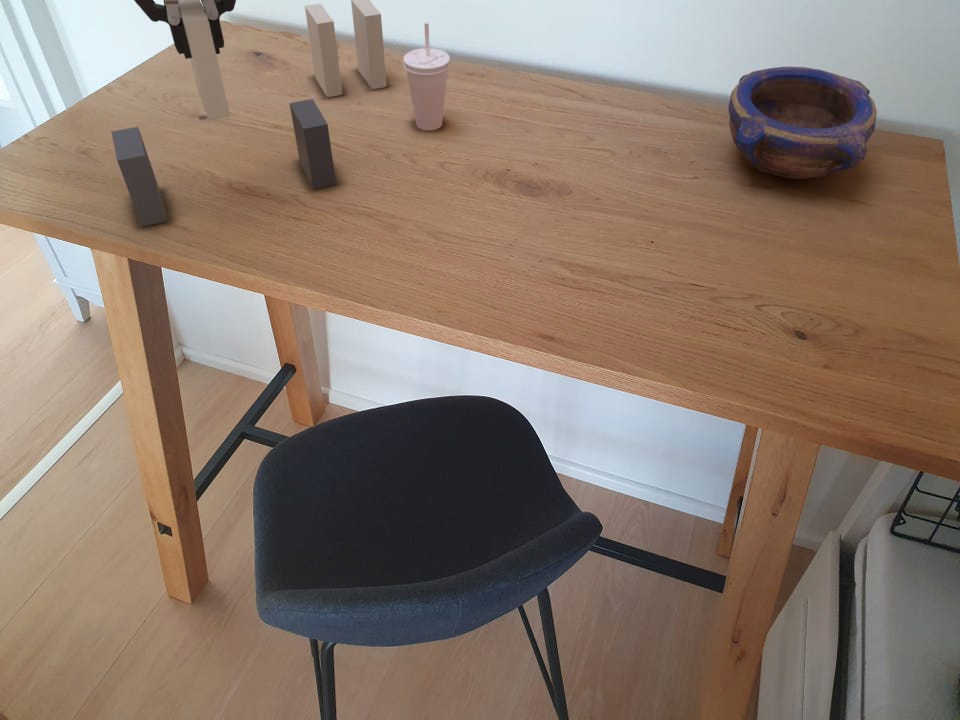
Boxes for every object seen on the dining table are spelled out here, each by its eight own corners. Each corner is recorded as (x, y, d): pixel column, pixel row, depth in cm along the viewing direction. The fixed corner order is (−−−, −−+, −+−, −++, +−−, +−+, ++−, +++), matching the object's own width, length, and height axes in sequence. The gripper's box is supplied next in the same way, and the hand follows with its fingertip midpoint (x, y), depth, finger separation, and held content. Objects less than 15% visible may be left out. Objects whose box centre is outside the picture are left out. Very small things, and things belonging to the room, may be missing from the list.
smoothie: (456, 116, 111) (455, 18, 101) (444, 137, 107) (442, 37, 97) (414, 111, 112) (408, 13, 102) (401, 132, 108) (394, 32, 98)
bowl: (706, 184, 99) (724, 113, 92) (725, 121, 111) (742, 53, 104) (851, 213, 95) (882, 140, 88) (855, 144, 107) (882, 75, 100)
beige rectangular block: (208, 120, 86) (183, 20, 78) (198, 93, 91) (174, -4, 83) (230, 116, 87) (207, 17, 79) (219, 89, 91) (196, -7, 84)
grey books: (141, 227, 92) (117, 160, 85) (135, 196, 96) (111, 131, 90) (336, 184, 98) (327, 120, 92) (321, 158, 103) (312, 94, 96)
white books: (327, 97, 115) (317, 23, 107) (315, 78, 119) (304, 5, 112) (386, 86, 118) (381, 13, 110) (372, 68, 122) (366, -4, 114)
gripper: (225, -143, 77) (257, 31, 89) (76, -132, 73) (132, 49, 85) (240, -124, 72) (272, 57, 84) (81, -111, 68) (139, 78, 80)
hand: (201, 52), depth 84 cm, fingers closed on beige rectangular block, 2 cm apart
